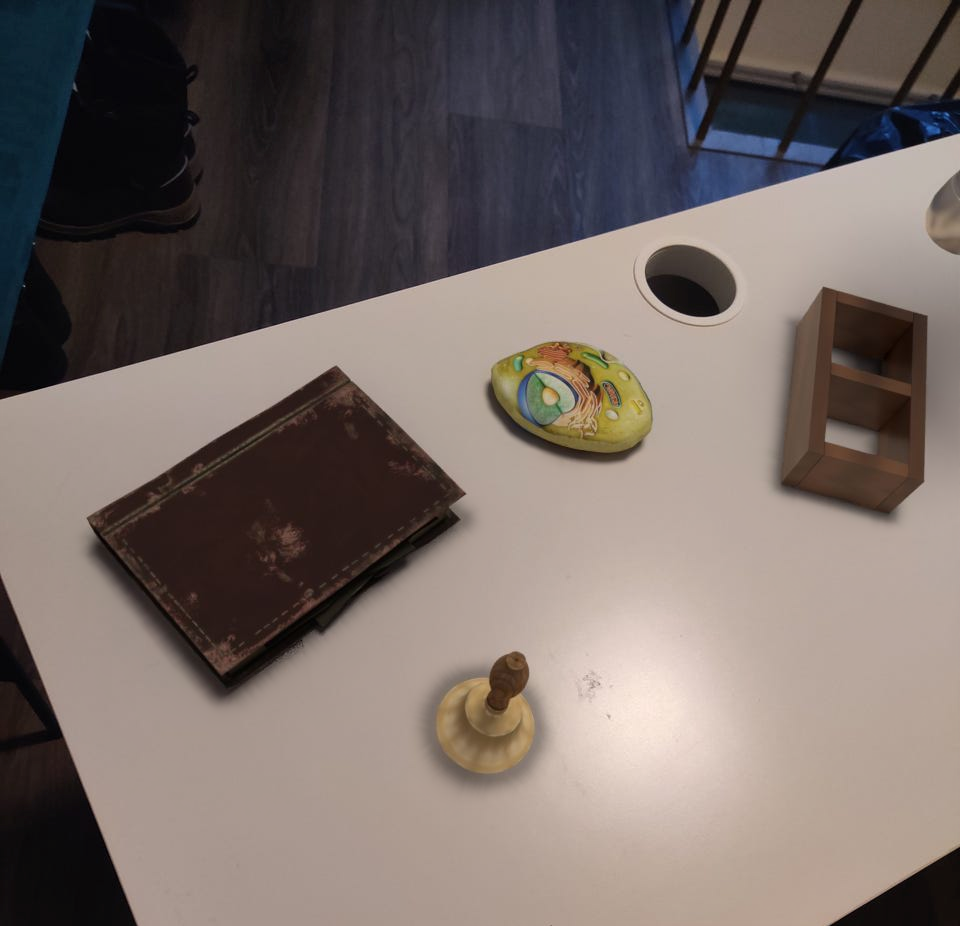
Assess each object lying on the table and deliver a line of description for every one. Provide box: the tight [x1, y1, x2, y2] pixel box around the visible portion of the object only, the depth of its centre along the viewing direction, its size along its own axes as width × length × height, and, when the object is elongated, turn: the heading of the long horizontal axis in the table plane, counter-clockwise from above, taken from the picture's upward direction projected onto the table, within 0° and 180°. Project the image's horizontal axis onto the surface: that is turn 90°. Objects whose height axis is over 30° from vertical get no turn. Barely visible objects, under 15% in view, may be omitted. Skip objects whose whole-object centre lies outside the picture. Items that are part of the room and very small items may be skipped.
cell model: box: [490, 340, 654, 454], centre depth 79 cm, size 11×8×15 cm
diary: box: [86, 365, 467, 691], centre depth 71 cm, size 19×25×5 cm
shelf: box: [780, 286, 929, 514], centre depth 83 cm, size 11×20×6 cm, turn 167°
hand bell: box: [435, 650, 535, 774], centre depth 61 cm, size 8×8×16 cm
